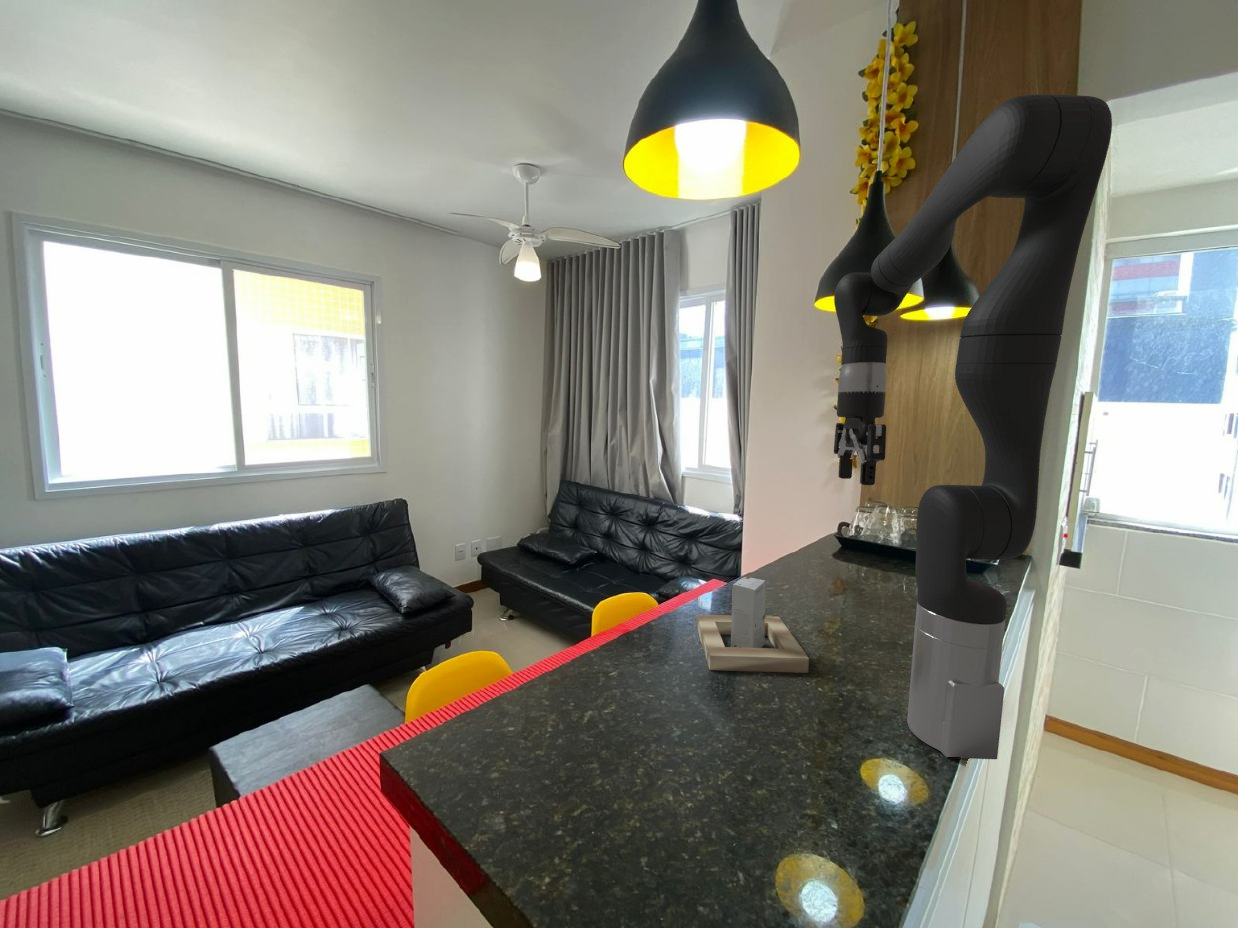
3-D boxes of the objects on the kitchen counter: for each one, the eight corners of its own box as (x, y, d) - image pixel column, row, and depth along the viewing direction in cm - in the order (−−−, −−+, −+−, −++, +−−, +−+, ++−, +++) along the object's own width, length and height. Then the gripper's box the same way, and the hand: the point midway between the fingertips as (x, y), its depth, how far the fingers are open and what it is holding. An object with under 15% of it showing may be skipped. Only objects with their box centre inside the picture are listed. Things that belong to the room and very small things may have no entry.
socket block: (808, 672, 77) (808, 658, 77) (709, 669, 78) (710, 655, 78) (778, 628, 93) (778, 616, 93) (696, 626, 94) (696, 614, 94)
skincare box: (753, 658, 82) (756, 590, 81) (728, 650, 85) (731, 584, 83) (765, 644, 87) (768, 580, 86) (741, 637, 90) (744, 575, 88)
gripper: (906, 388, 77) (898, 488, 78) (863, 392, 91) (857, 476, 92) (859, 388, 77) (852, 487, 79) (823, 392, 91) (818, 476, 93)
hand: (855, 481), depth 86 cm, fingers open, 8 cm apart
